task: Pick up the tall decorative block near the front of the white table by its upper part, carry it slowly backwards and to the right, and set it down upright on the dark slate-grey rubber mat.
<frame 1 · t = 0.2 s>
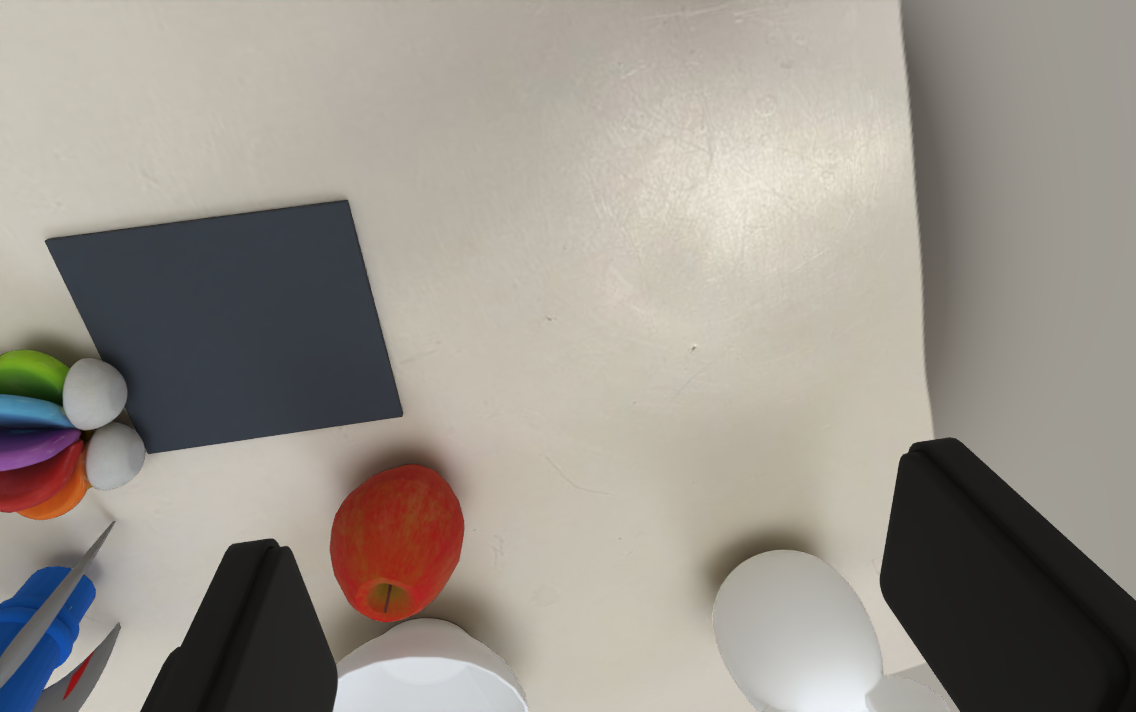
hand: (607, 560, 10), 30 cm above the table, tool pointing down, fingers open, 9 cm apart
toy rocket: (91, 582, 47), on the table
apple: (407, 487, 46), on the table
mat: (242, 334, 40), on the table
piggy bank: (767, 574, 54), on the table
multicoloured rounded piece: (73, 404, 40), on the table, touching mat
bowl: (425, 648, 54), on the table
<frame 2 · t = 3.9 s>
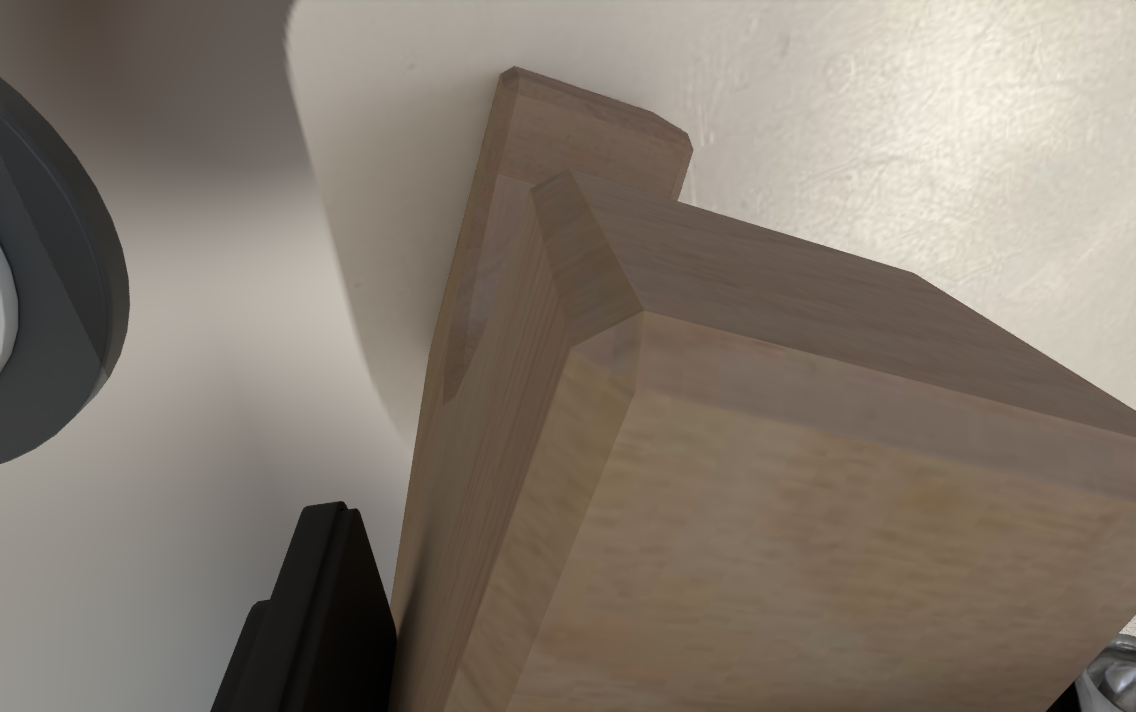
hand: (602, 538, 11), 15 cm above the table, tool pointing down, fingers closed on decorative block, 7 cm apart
decorative block: (536, 242, 24), on the table, touching gripper
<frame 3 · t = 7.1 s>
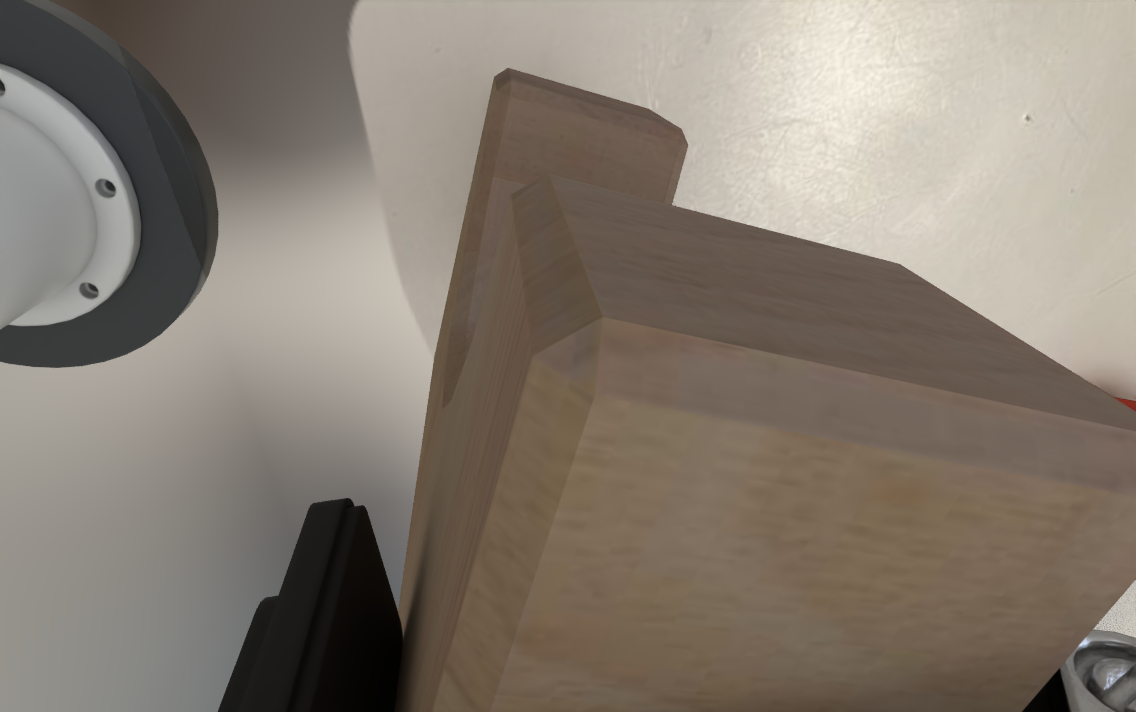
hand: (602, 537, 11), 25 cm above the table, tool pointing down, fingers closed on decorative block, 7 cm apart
decorative block: (536, 242, 24), point 9 cm above the table, touching gripper
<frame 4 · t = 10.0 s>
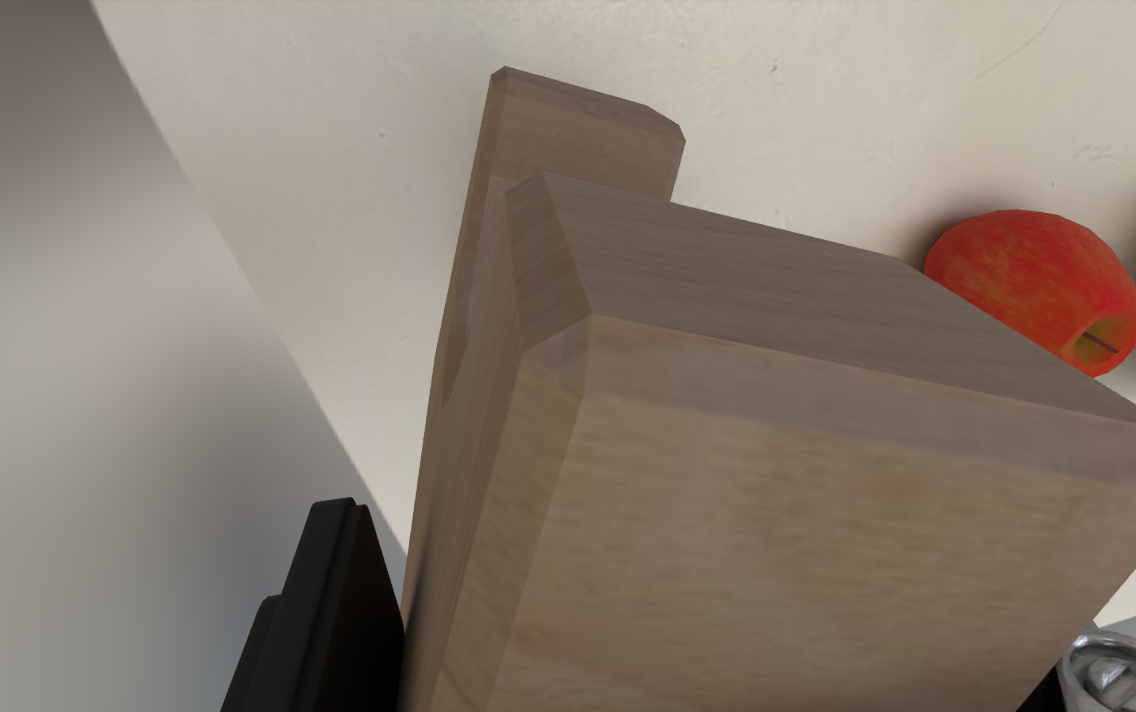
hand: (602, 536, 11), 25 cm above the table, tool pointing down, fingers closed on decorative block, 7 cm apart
decorative block: (535, 240, 24), point 9 cm above the table, touching gripper
apple: (956, 262, 38), on the table
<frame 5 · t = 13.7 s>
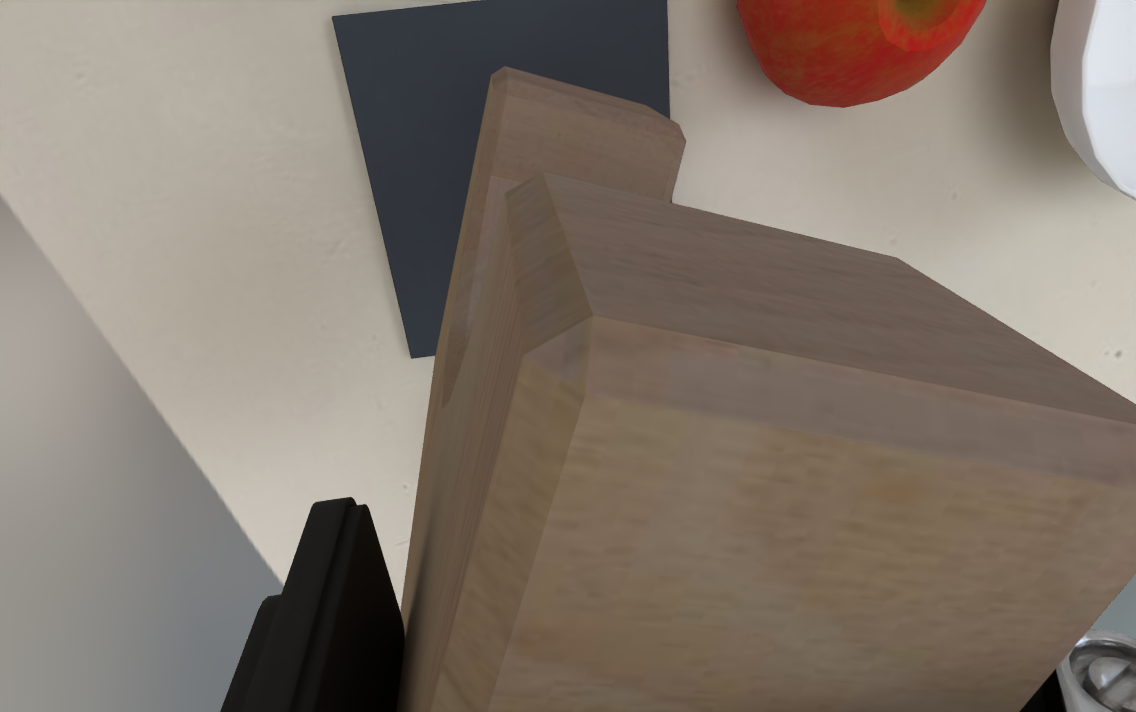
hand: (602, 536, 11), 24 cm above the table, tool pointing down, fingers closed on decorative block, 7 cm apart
decorative block: (535, 241, 24), point 8 cm above the table, touching gripper
mat: (524, 187, 32), on the table
bowl: (1128, 4, 31), on the table
when the fingers open (16 cm above the table, at t = 16.4 s): decorative block stays where it is, resting on mat.
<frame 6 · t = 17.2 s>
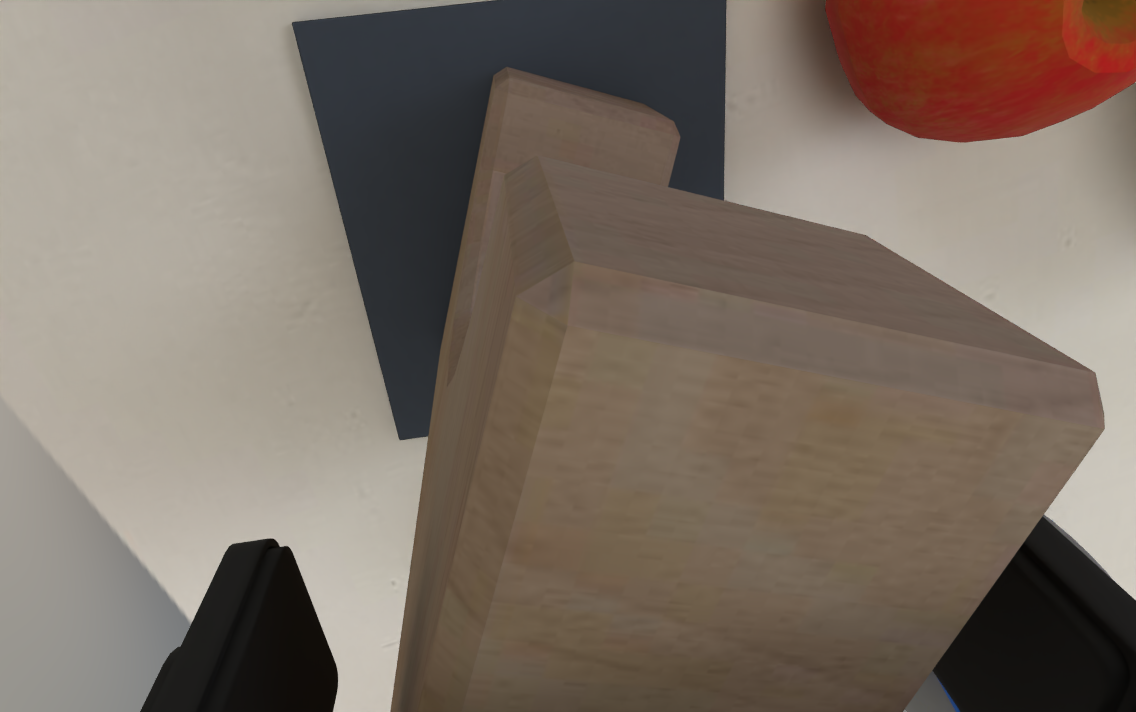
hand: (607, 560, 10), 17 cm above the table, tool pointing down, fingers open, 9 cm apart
decorative block: (537, 236, 25), resting on mat
toy rocket: (909, 497, 34), on the table
mat: (540, 236, 25), on the table
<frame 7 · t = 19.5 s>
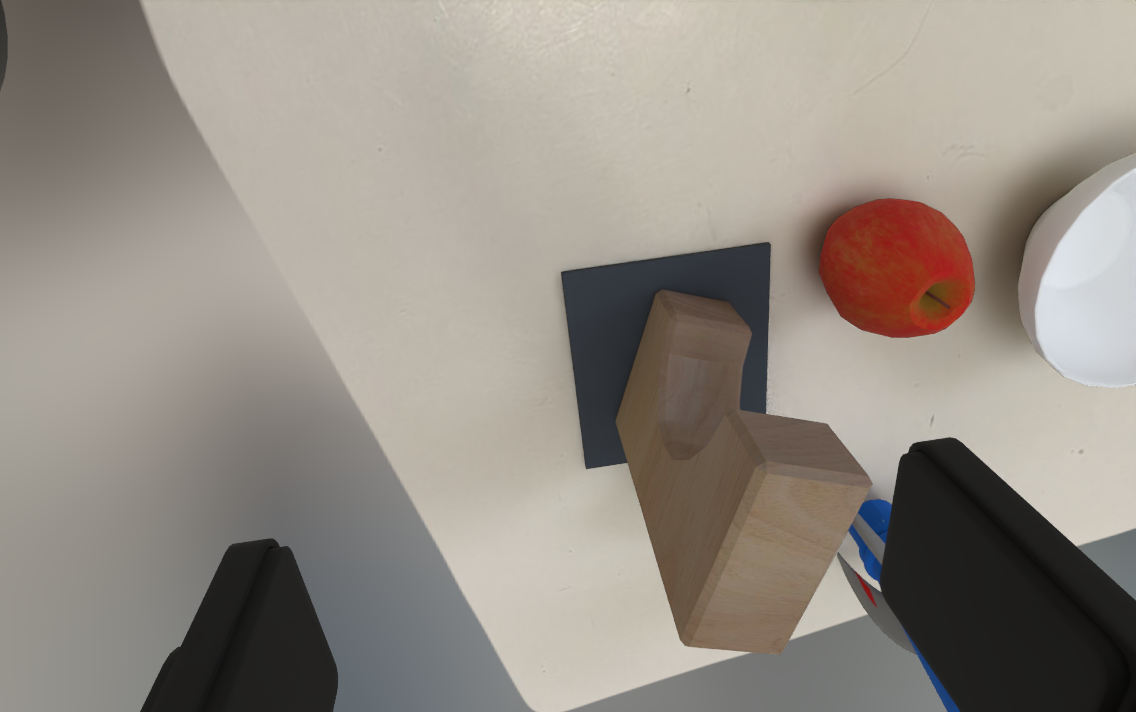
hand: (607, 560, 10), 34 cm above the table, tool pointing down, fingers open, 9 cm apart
decorative block: (669, 362, 48), resting on mat
toy rocket: (877, 498, 56), on the table
apple: (853, 243, 46), on the table
mat: (670, 362, 48), on the table
bowl: (1073, 238, 47), on the table
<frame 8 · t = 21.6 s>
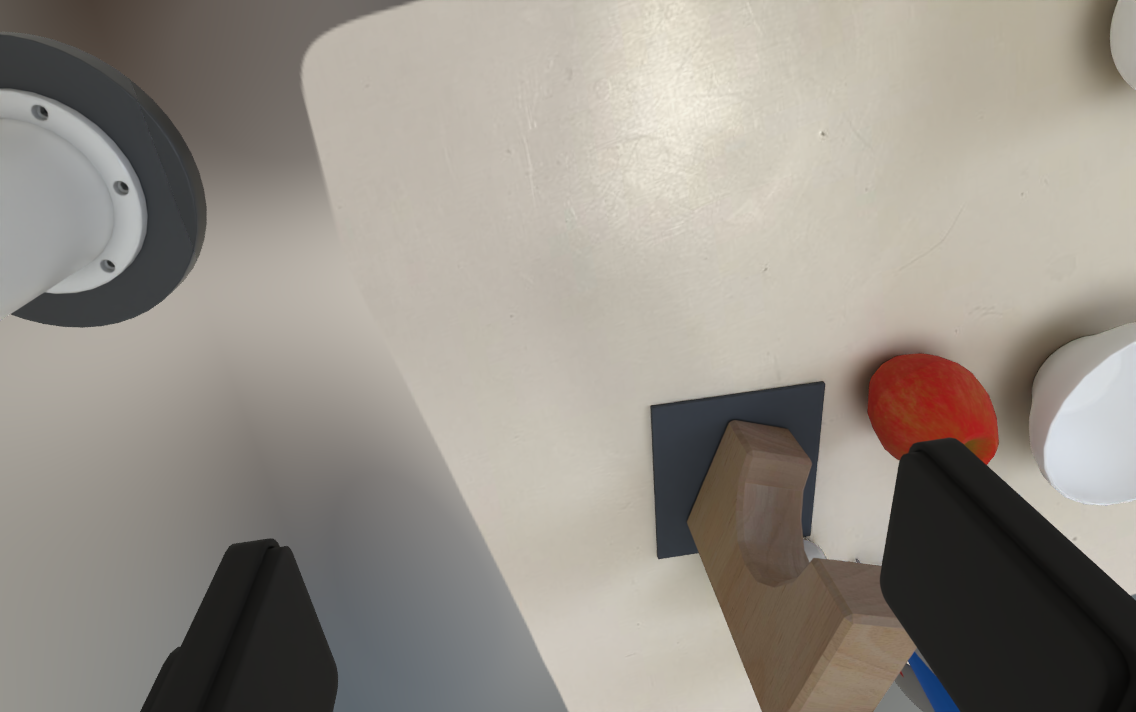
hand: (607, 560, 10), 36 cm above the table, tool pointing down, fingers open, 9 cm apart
decorative block: (734, 474, 57), resting on mat
toy rocket: (901, 578, 65), on the table
apple: (892, 380, 54), on the table
mat: (735, 473, 57), on the table
bowl: (1073, 374, 56), on the table
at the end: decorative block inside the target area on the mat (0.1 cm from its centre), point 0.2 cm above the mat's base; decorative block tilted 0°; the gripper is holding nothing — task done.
